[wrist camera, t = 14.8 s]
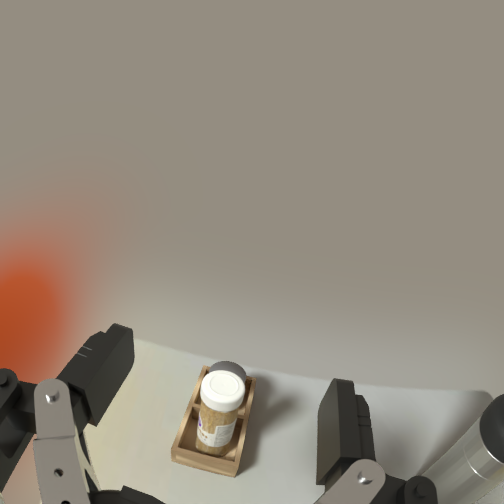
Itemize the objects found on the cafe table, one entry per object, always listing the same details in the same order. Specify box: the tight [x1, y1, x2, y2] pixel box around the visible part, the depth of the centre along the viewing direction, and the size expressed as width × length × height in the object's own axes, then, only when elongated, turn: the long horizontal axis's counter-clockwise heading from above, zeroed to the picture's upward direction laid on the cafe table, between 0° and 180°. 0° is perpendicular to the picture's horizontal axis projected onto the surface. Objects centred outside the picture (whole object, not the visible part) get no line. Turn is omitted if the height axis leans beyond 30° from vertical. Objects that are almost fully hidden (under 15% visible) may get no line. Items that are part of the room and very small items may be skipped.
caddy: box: [171, 366, 257, 477], centre depth 39 cm, size 16×8×4 cm, turn 172°
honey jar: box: [209, 361, 246, 384], centre depth 42 cm, size 5×5×7 cm
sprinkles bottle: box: [195, 370, 245, 458], centre depth 33 cm, size 5×5×14 cm
